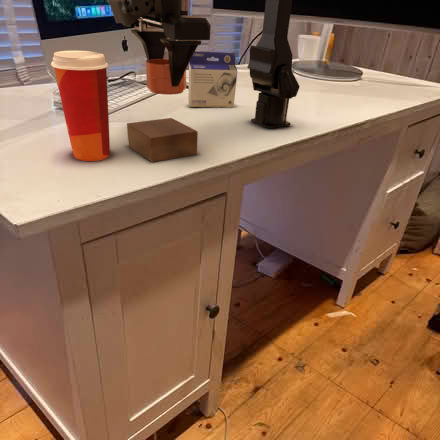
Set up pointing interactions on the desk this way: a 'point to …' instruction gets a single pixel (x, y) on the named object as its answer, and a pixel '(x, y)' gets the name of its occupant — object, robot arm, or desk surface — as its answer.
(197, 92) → the ink box
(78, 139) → the coffee cup
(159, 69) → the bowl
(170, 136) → the stand
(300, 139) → the desk surface
